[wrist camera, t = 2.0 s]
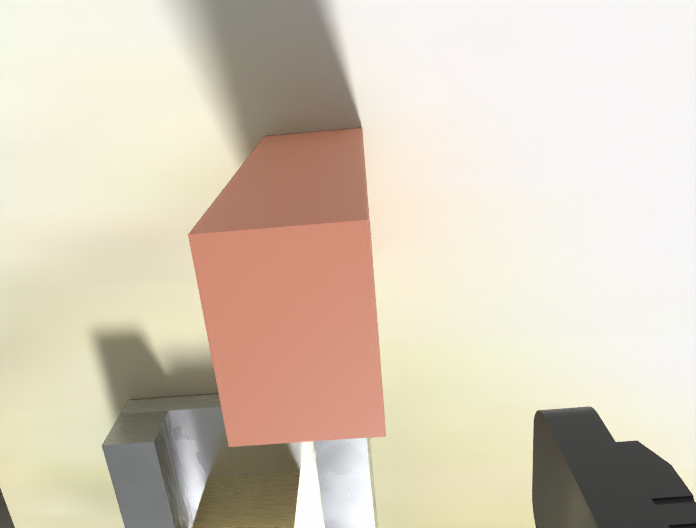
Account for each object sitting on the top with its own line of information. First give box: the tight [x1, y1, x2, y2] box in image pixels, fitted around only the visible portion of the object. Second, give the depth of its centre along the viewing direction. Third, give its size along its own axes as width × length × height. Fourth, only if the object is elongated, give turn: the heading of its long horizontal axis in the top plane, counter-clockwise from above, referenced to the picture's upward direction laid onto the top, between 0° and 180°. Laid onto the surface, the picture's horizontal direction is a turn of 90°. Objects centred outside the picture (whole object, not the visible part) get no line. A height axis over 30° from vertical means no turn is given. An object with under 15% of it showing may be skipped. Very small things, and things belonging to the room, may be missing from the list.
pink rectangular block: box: [188, 128, 386, 447], centre depth 18 cm, size 4×5×11 cm
